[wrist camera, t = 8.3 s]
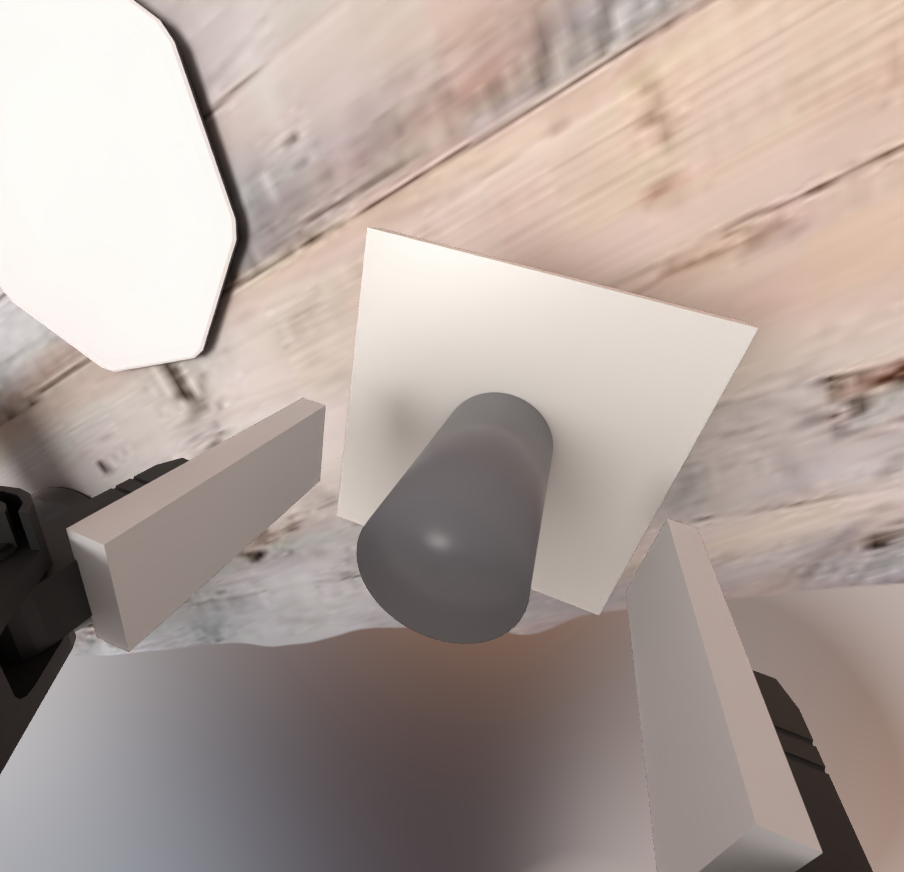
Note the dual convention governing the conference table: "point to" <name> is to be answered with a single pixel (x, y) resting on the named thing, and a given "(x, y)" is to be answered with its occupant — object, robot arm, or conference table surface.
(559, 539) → the lid
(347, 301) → the conference table surface
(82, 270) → the plate
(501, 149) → the conference table surface
